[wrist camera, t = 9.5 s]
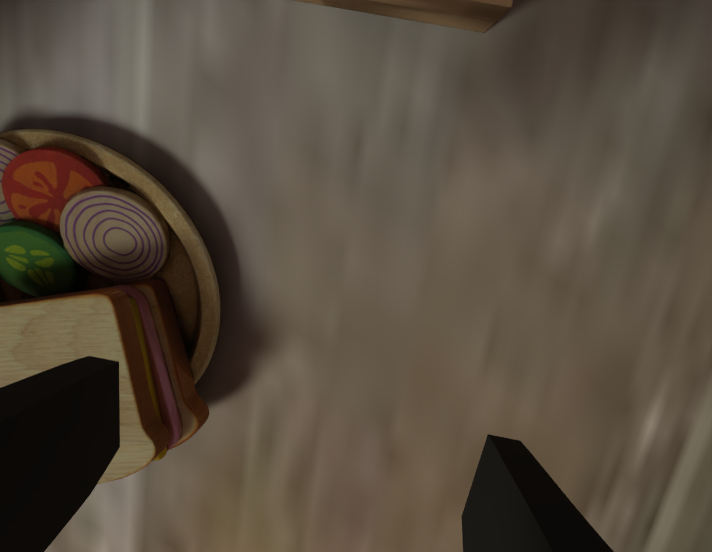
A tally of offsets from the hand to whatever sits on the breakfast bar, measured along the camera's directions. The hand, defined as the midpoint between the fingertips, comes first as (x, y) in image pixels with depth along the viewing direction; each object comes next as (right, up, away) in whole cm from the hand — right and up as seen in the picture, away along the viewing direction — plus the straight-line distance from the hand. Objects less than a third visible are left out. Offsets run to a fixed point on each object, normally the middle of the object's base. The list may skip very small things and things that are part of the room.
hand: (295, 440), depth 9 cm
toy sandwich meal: (-10, +2, +11) cm, 15 cm away
